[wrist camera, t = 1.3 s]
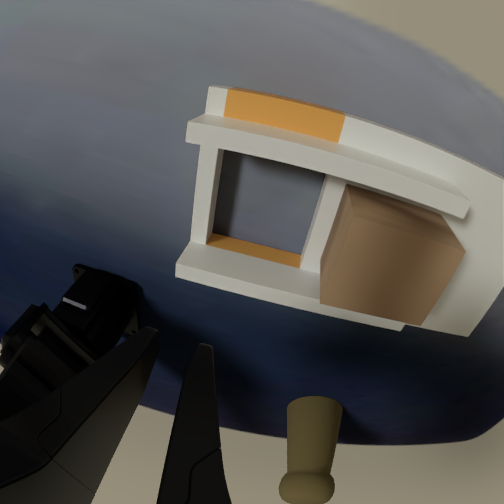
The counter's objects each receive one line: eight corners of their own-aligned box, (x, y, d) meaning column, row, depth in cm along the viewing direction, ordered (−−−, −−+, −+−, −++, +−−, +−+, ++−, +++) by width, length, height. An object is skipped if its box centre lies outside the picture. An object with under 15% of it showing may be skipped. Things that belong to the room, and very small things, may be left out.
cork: (338, 423, 32) (332, 510, 23) (286, 420, 33) (272, 507, 24) (347, 396, 29) (343, 498, 20) (287, 394, 30) (271, 494, 21)
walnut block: (320, 259, 19) (319, 303, 16) (346, 183, 16) (353, 216, 13) (407, 281, 19) (420, 326, 15) (440, 214, 16) (465, 251, 13)
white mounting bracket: (194, 259, 23) (174, 295, 19) (217, 84, 16) (192, 90, 13) (463, 323, 22) (476, 360, 18) (536, 195, 15) (567, 223, 12)
